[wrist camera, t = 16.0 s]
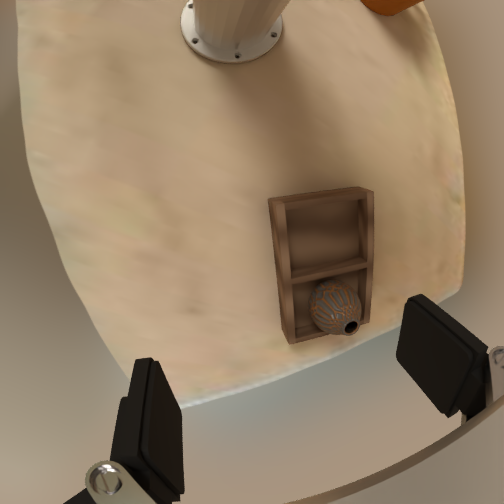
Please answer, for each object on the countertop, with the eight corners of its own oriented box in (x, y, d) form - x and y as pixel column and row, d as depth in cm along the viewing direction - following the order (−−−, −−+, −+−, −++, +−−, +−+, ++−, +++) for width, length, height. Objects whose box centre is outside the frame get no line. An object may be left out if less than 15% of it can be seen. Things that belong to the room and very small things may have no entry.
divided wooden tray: (267, 198, 37) (275, 204, 33) (358, 186, 38) (373, 191, 34) (282, 329, 44) (289, 344, 40) (357, 309, 45) (369, 322, 42)
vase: (299, 316, 42) (320, 353, 34) (305, 273, 39) (331, 305, 31) (341, 313, 43) (367, 346, 35) (349, 272, 41) (381, 300, 33)
